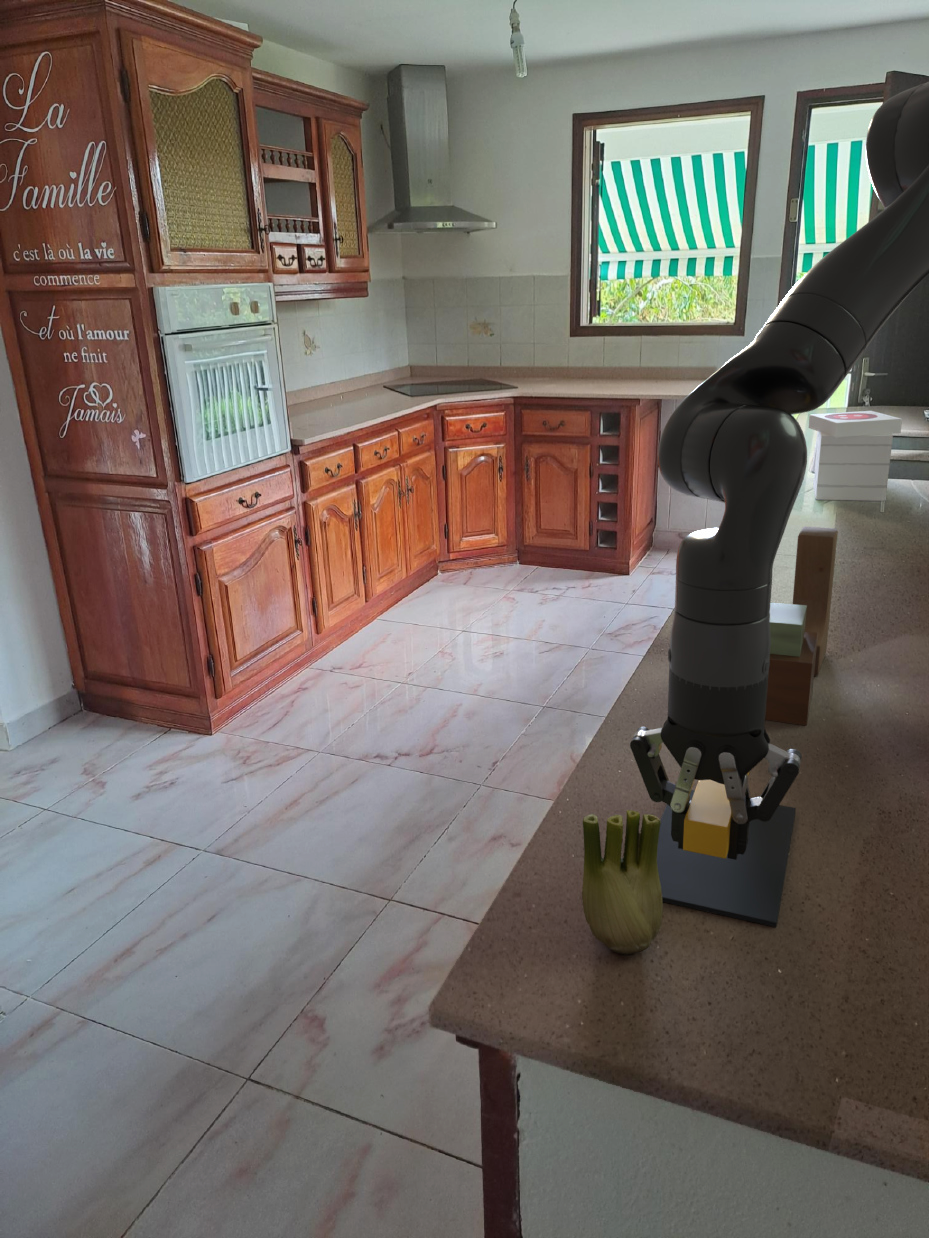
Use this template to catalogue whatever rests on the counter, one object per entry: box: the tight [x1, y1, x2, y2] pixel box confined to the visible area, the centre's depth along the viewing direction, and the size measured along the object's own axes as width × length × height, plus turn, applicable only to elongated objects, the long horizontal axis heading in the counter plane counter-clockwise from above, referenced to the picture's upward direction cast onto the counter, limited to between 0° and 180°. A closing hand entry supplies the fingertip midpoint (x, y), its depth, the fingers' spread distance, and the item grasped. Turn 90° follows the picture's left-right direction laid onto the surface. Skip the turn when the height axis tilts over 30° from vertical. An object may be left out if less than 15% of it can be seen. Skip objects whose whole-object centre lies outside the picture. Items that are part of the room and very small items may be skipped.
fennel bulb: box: [581, 809, 664, 955], centre depth 70 cm, size 6×5×12 cm
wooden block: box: [792, 526, 839, 677], centre depth 117 cm, size 9×4×18 cm, turn 153°
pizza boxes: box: [808, 410, 903, 502], centre depth 212 cm, size 19×30×18 cm, turn 162°
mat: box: [657, 789, 797, 928], centre depth 82 cm, size 18×12×1 cm, turn 156°
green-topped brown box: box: [765, 602, 818, 726], centre depth 108 cm, size 10×10×12 cm
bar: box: [683, 771, 751, 858], centre depth 79 cm, size 18×4×3 cm, turn 156°
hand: (708, 848), depth 75 cm, fingers closed on bar, 3 cm apart
